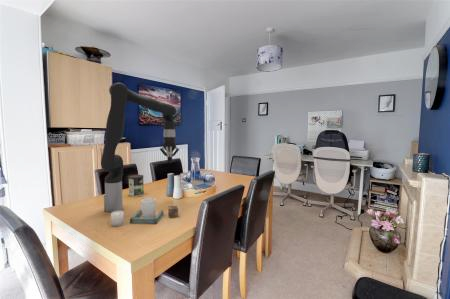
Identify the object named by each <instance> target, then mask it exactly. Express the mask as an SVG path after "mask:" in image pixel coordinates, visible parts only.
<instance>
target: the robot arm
mask: <svg viewBox="0 0 450 299" xmlns="http://www.w3.org/2000/svg"><path fill="white" fill-rule="evenodd" d="M108 91H109V95H110V109H109V112H108V115H107V119H106V125H105V136H104V145H103V149H102V154H101V158H100V159H101V160H100V166H101V169H102V170H103V171H104V172H106V173H108V174H107V175H106V176H105V177H104V194H103V209H104V211H106V212H107V213H112V212H114V211H122V210H123V208H124V205H123V204H124V202H123V199H124V198H123V177H124V160H123V157H122V156H121V155H119V154H116V149H117V147H118V145H119V143H120V142H121V140H122V139H123V136H124V130H125V115H126V114H125V111H126V104H127V102H129V103H133V104H136V105H138V106H140V107H142V108H145V109H147V110H150V111H153V112H156V113H161V114H162V119H163V146H162V147H160V148H159V150H160V152H161V153H162V154H163V155H164V156H165V157H166V158H167V160H166V161H167V162H168V163H172V162H173V157H174V156H176V155H177V153H178V152H179V151H180V148H179V147H177V144H176V122H175V121H174V116H175V115H176V114H177V108H176V107H175V106H173V105H172V104H169V103H166V102H163V101H160V100H158V99H155V98H152V97H150V96H146V95H142V94H141V93H140V94H139V93H137V92H135V91H133V90H131V89H129V88H128V87H127V86H126V85H125V83H121V82H116V83H115V82H114V83H112V84H111V85H110V86H109V89H108Z"/></svg>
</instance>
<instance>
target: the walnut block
mask: <svg viewBox="0 0 450 299" xmlns="http://www.w3.org/2000/svg"><path fill="white" fill-rule="evenodd" d="M167 208H168V209H167V210H168V212H167V213H168V214H167V215H168V218H169V219H172V218H178V217H179V207H178V205H169V206H168V207H167Z"/></svg>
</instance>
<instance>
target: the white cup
mask: <svg viewBox="0 0 450 299" xmlns="http://www.w3.org/2000/svg"><path fill="white" fill-rule="evenodd" d="M140 205H141V210H142V215H141V216H142V218H155V217H156V212H157V211H156V210H157V199H156V198H154V197H145V198H142V199H141V200H140Z"/></svg>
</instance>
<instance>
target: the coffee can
mask: <svg viewBox="0 0 450 299" xmlns="http://www.w3.org/2000/svg"><path fill="white" fill-rule="evenodd" d="M144 188H145V187H144V175H143V174H132V175H129V176H128V196H129V197H132V198H133V197H135V198H136V197H140V196H144V195H145V189H144Z"/></svg>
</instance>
